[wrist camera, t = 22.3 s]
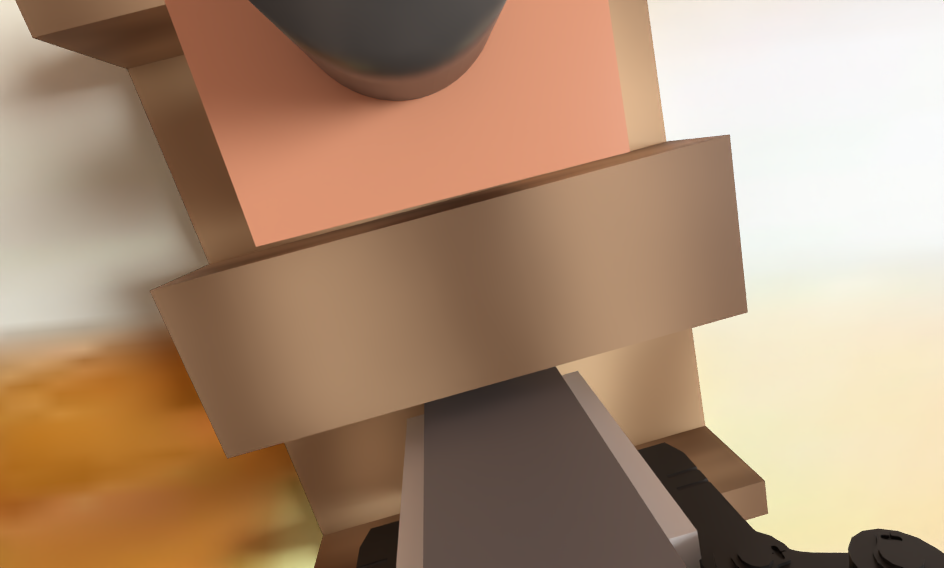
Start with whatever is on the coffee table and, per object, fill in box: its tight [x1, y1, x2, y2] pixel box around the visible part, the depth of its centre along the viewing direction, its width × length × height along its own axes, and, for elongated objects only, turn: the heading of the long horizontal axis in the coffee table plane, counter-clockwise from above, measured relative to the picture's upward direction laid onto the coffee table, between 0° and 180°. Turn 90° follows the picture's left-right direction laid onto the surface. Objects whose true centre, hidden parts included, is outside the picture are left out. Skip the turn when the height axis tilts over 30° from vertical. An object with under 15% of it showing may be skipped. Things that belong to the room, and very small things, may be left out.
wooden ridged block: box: [15, 0, 768, 568], centre depth 13 cm, size 14×19×4 cm
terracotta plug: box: [164, 0, 630, 247], centre depth 8 cm, size 4×4×11 cm
